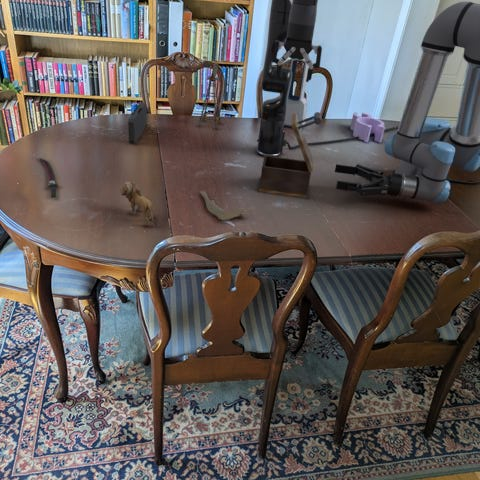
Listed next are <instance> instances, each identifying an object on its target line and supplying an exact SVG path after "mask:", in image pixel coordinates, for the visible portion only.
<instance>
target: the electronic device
mask: <svg viewBox="0 0 480 480" xmlns="http://www.w3.org/2000/svg"><path fill="white" fill-rule="evenodd" d="M298 62H299V63H303V67H302V73H301V79H300V85H299V92H298V95H293V92H294V84H295V78H296V77H295V76H296V70H297V64H298ZM289 68H290V69H291V70H292V80H291V85H290V90H289V95H288V101H287V109H286V116H285V123H284V127H287V128H292V125H291V123H292V115H293V114H295V113H296V115H297V117H298V120H299V121H302V120H304V119H307V108H308V100H307V99H306V97H305V91H306V86H307V82H306V78H307V72H308V68H309V66H308V65H307V63H306V61H305V59H302V60H299V59H291V61H290V67H289ZM306 123H307V121H306V122H304V123H301V124H300V125H304V124H306Z"/></svg>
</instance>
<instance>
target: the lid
mask: <svg viewBox="0 0 480 480" xmlns="http://www.w3.org/2000/svg"><path fill="white" fill-rule="evenodd" d="M304 122H306V123H305V124H304V125H300V124H301V123H304ZM321 124H322V114H321V112H319V111H316V112H314V113H313V115H312V116H309V117H306V119H304V120H302V121H299V120H298V117H297V115H296V113H295V114H293V115H292V123H291V125H292V127H291V128H292V130H293V133H294V135H295V138H296V141H297V144H298V145H299V146H300V147H299V148H300V151H301V154H302V156H303V160H304V161H305V162H306V164H307V167H308V170H309V172H311V173H312V172H313V171H314V158H313V155H312V153H311V150H310V148H309V145H308V144H307V143H308V142H307V139H306V137H305V134H304V131H303V129H304V128H306V127H309V126H311V125H321Z"/></svg>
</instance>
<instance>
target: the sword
mask: <svg viewBox="0 0 480 480" xmlns="http://www.w3.org/2000/svg"><path fill="white" fill-rule="evenodd" d="M40 161H41V162H42V163H43V165H44V166H45V169H46V173H47V176H48V185H47V188H50V198H56V197H57V189H56V188H57V187H59V185H58V184H57V183H56V180H55V176H54V172H53V169H52V167H51V164H50V163H49V161H48V160H46V159H43V158H40Z"/></svg>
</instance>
